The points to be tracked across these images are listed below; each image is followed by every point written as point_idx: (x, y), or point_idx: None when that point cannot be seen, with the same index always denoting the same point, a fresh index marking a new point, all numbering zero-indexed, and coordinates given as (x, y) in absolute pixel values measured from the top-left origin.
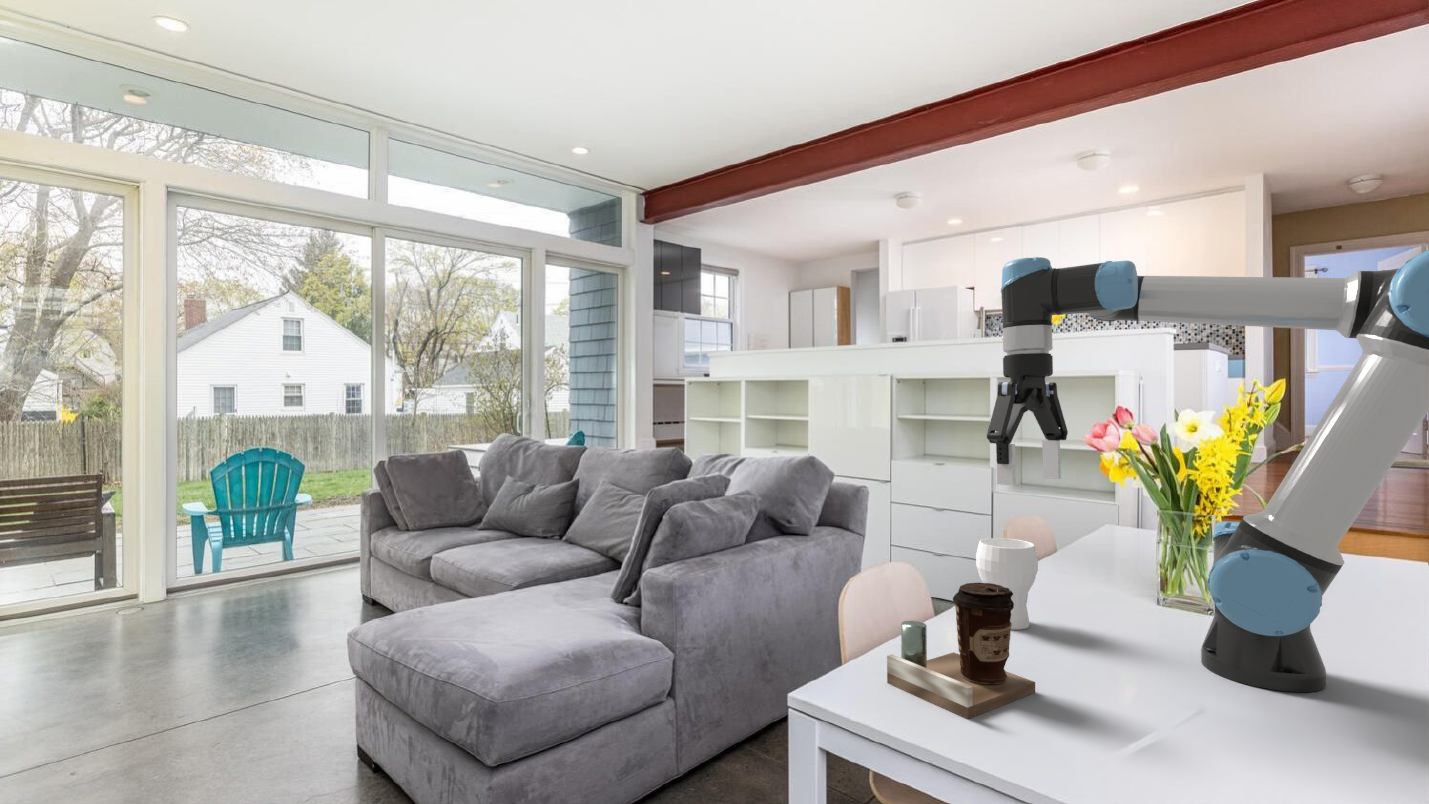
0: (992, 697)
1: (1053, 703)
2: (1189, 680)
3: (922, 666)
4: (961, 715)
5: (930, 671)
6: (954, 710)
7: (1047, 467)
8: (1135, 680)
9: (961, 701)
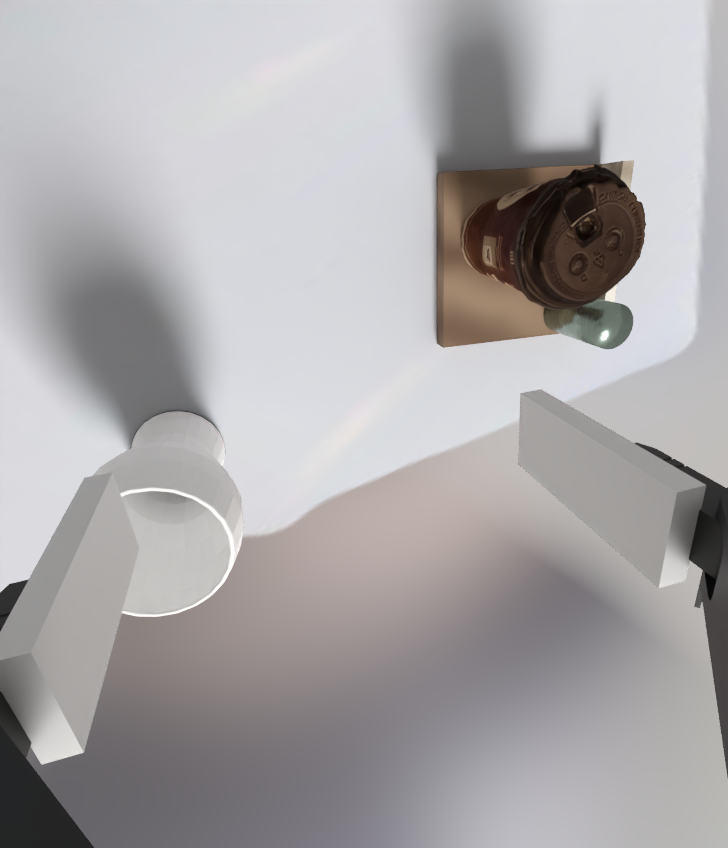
0: (554, 168)
1: (451, 124)
2: (97, 16)
3: None
4: None
5: None
6: None
7: (119, 564)
8: (216, 95)
9: None
